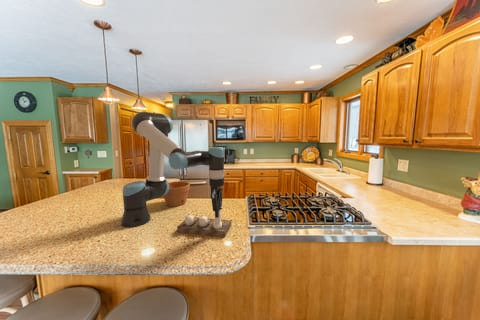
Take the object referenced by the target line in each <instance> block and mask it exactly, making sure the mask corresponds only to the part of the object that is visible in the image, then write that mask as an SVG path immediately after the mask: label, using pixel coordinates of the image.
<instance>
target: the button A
mask: <svg viewBox="0 0 480 320" xmlns="http://www.w3.org/2000/svg"><path fill="white" fill-rule="evenodd" d="M194 217H195V216H194V215H192V214H188V215H185V217H184V220H185V225H187V226H190V225H193V224H194Z"/></svg>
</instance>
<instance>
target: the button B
mask: <svg viewBox="0 0 480 320" xmlns="http://www.w3.org/2000/svg"><path fill="white" fill-rule="evenodd" d="M198 218H199V226H200V227H206V226H207V225H208V220H207V218H208V216H205V215H203V216H200V217H198Z"/></svg>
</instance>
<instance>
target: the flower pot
mask: <svg viewBox="0 0 480 320" xmlns="http://www.w3.org/2000/svg"><path fill="white" fill-rule="evenodd" d="M168 184H169V191H168V193H167V194H166V195H165V196H163V198H164V202H165V204H166V206H167V207H179V206H183V205H185V204H186V203H187V199H188V195H189V191H190V189H191V184H190V182H188V181H170V182H169V181H168Z"/></svg>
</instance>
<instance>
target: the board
mask: <svg viewBox="0 0 480 320" xmlns="http://www.w3.org/2000/svg"><path fill="white" fill-rule="evenodd" d="M193 217H194V224H193V225H190V226H187V225H185V219H184V220H183V221H182V222H181V223H180V224H178V226H177V225H176V228H177V233H182V234H183V233H184V234H191V235H201V236H210V237H211V236H212V237H219V238H221V237H222V238H225V237H226V236H227V234H228V233H229V231H230V229H231V227H232V220H230V219H221V222H222V229H221V230H220V229H214V226H213V223H214V222H215V218H210V217H209V218H208V217H207V220H208V225H207V226H206V227H200V226H199V217H196V216H193Z"/></svg>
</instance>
